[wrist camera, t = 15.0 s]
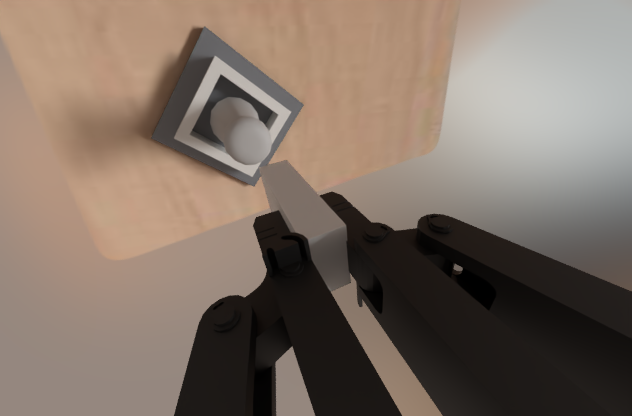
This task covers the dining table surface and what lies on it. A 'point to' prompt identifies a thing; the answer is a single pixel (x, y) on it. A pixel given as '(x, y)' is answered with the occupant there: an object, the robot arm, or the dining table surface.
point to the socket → (213, 86)
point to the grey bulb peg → (241, 130)
